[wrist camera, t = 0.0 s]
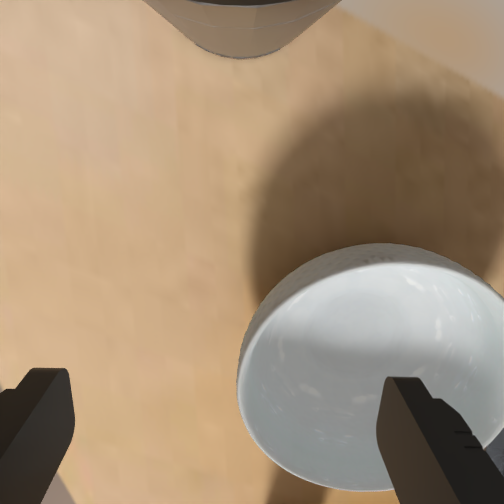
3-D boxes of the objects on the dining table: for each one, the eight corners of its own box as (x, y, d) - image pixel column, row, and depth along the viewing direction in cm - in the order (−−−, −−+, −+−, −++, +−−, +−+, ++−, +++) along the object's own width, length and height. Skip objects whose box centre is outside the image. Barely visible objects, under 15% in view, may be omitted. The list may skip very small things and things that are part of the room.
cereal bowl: (505, 240, 28) (587, 289, 21) (423, 423, 34) (466, 505, 27) (260, 198, 26) (266, 237, 20) (222, 398, 32) (216, 478, 26)
